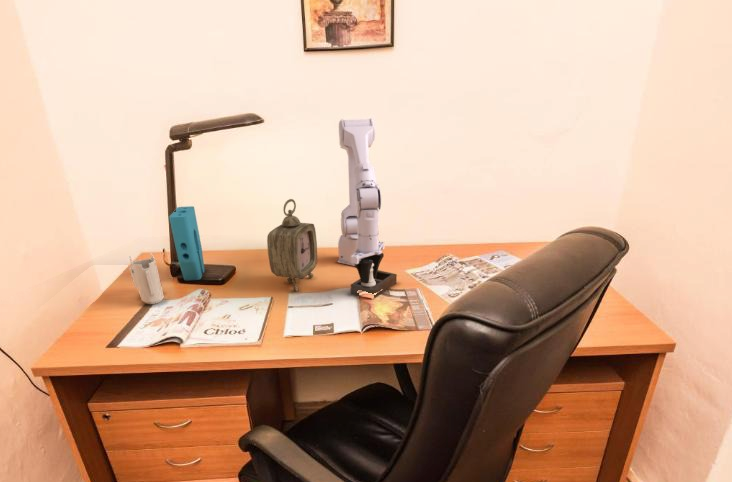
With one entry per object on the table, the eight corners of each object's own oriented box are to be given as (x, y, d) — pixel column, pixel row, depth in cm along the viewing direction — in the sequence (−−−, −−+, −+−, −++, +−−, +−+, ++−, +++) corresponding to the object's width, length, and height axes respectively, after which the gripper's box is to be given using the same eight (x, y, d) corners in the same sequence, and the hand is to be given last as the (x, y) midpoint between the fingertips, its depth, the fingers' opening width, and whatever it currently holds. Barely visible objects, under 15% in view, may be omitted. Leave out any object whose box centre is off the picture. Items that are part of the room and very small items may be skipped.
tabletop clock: (298, 295, 139) (290, 207, 127) (270, 291, 142) (260, 204, 129) (318, 276, 151) (313, 194, 138) (292, 273, 153) (285, 192, 141)
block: (190, 268, 158) (177, 206, 148) (206, 267, 159) (194, 206, 149) (182, 282, 148) (168, 217, 138) (199, 281, 148) (186, 216, 138)
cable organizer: (159, 288, 144) (150, 250, 138) (167, 304, 135) (157, 263, 129) (135, 293, 141) (124, 254, 135) (141, 309, 132) (130, 267, 126)
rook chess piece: (363, 291, 137) (362, 265, 133) (359, 285, 141) (358, 259, 137) (378, 290, 138) (378, 263, 134) (373, 284, 142) (373, 258, 138)
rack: (372, 299, 136) (372, 289, 134) (350, 294, 139) (350, 284, 138) (396, 283, 145) (396, 274, 144) (375, 278, 149) (375, 269, 147)
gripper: (366, 243, 124) (366, 292, 131) (394, 228, 135) (393, 274, 142) (343, 238, 128) (345, 286, 134) (372, 225, 138) (372, 270, 145)
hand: (368, 280), depth 138 cm, fingers closed on rook chess piece, 3 cm apart
